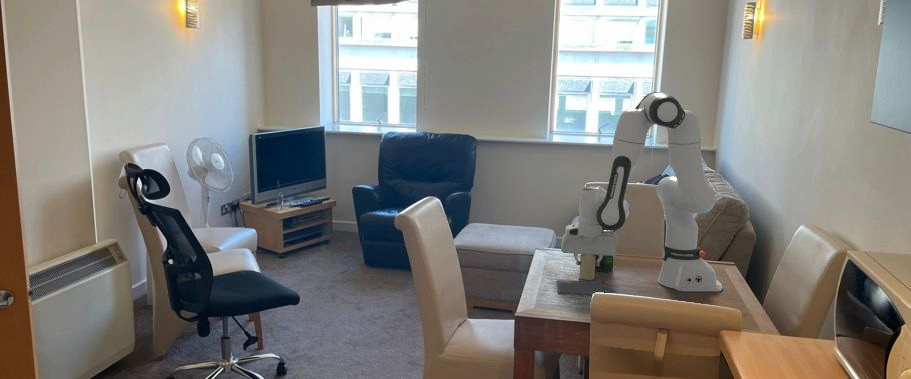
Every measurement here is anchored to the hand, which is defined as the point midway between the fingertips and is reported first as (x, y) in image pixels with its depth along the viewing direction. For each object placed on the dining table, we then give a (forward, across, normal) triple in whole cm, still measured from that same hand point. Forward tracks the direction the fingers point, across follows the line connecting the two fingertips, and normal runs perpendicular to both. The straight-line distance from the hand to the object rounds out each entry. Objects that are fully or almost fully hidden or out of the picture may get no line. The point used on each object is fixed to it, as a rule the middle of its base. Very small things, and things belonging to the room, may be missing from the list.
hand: (587, 265), depth 259 cm
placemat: (+5, +3, +13) cm, 14 cm away
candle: (+5, 0, 0) cm, 5 cm away
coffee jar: (+5, -6, -13) cm, 15 cm away
